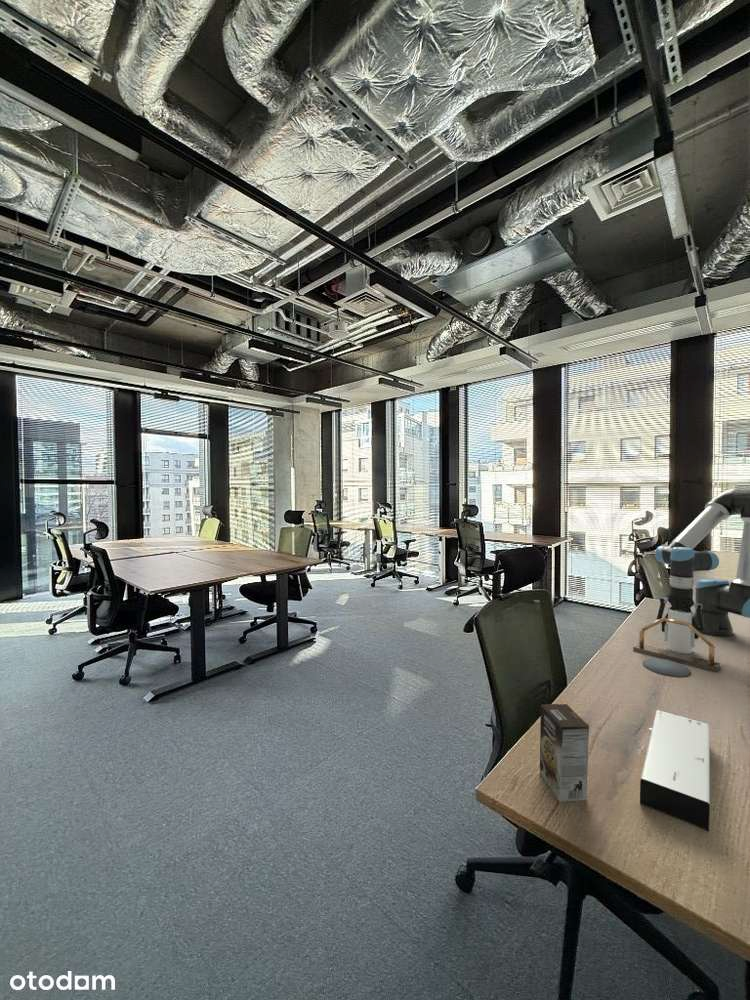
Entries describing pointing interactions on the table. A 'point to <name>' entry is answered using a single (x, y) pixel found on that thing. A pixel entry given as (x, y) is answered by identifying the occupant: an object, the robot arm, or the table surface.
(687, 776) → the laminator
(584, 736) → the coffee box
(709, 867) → the table surface
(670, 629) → the cup
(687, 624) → the buzz wire
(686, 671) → the mat
